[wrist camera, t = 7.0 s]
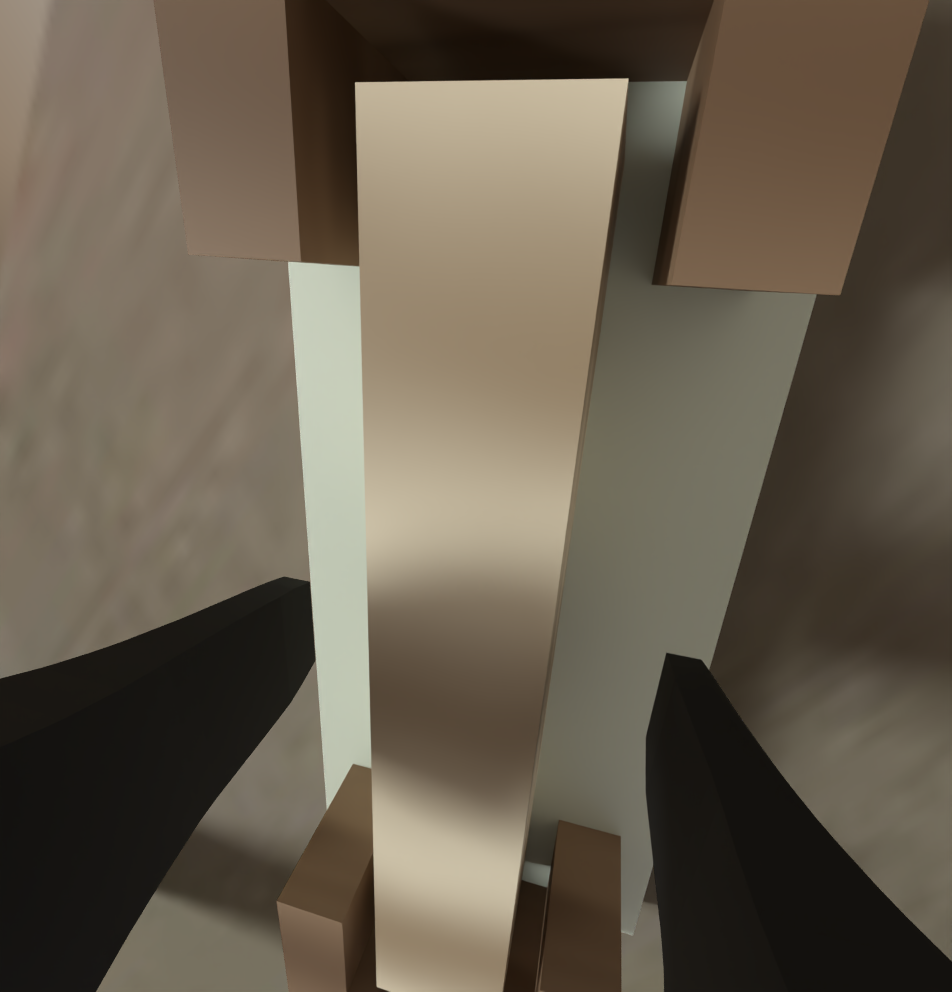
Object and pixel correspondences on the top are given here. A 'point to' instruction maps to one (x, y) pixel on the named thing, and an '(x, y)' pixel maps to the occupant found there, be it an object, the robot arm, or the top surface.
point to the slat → (471, 480)
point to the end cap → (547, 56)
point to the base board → (580, 504)
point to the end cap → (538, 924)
